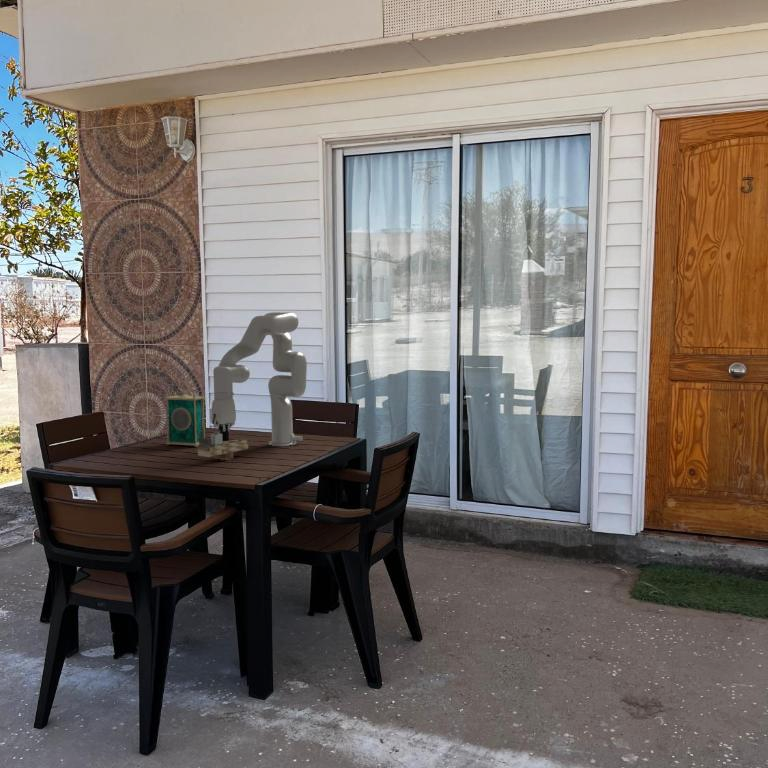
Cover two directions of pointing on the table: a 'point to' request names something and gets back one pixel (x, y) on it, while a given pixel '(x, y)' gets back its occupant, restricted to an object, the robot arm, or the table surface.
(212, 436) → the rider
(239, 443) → the beam
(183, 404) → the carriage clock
